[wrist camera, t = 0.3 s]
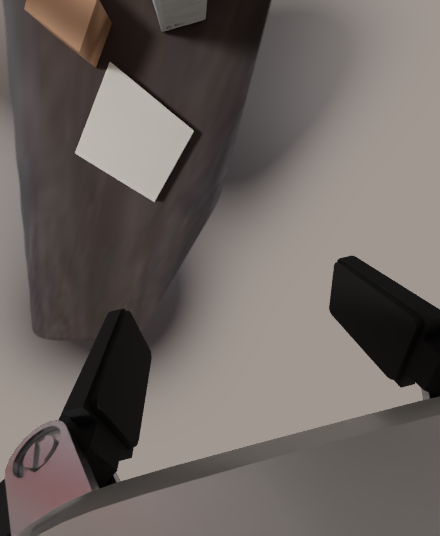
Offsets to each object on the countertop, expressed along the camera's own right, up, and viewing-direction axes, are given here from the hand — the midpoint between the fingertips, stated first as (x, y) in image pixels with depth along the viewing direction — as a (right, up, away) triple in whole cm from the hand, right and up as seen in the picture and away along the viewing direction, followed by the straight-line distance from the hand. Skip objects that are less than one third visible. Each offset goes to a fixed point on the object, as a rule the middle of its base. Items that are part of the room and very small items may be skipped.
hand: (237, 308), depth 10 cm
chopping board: (-13, +20, +21) cm, 32 cm away
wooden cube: (-17, +30, +15) cm, 38 cm away
